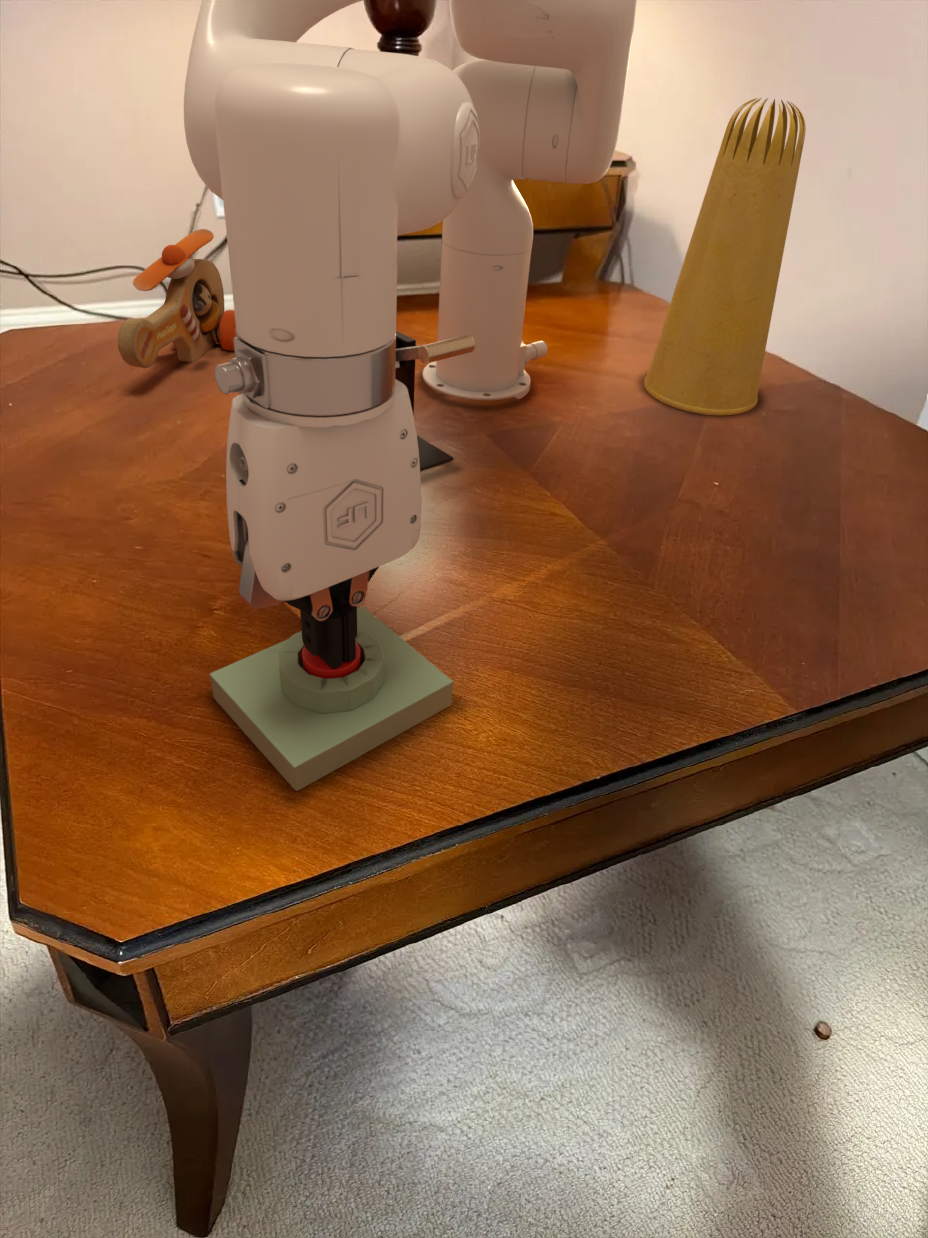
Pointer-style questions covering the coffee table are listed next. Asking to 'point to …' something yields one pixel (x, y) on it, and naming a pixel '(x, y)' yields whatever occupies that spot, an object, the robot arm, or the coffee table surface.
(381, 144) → the robot arm
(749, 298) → the piping tip
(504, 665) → the coffee table surface
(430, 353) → the lever
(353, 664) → the button
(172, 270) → the toy helicopter
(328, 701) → the button block
